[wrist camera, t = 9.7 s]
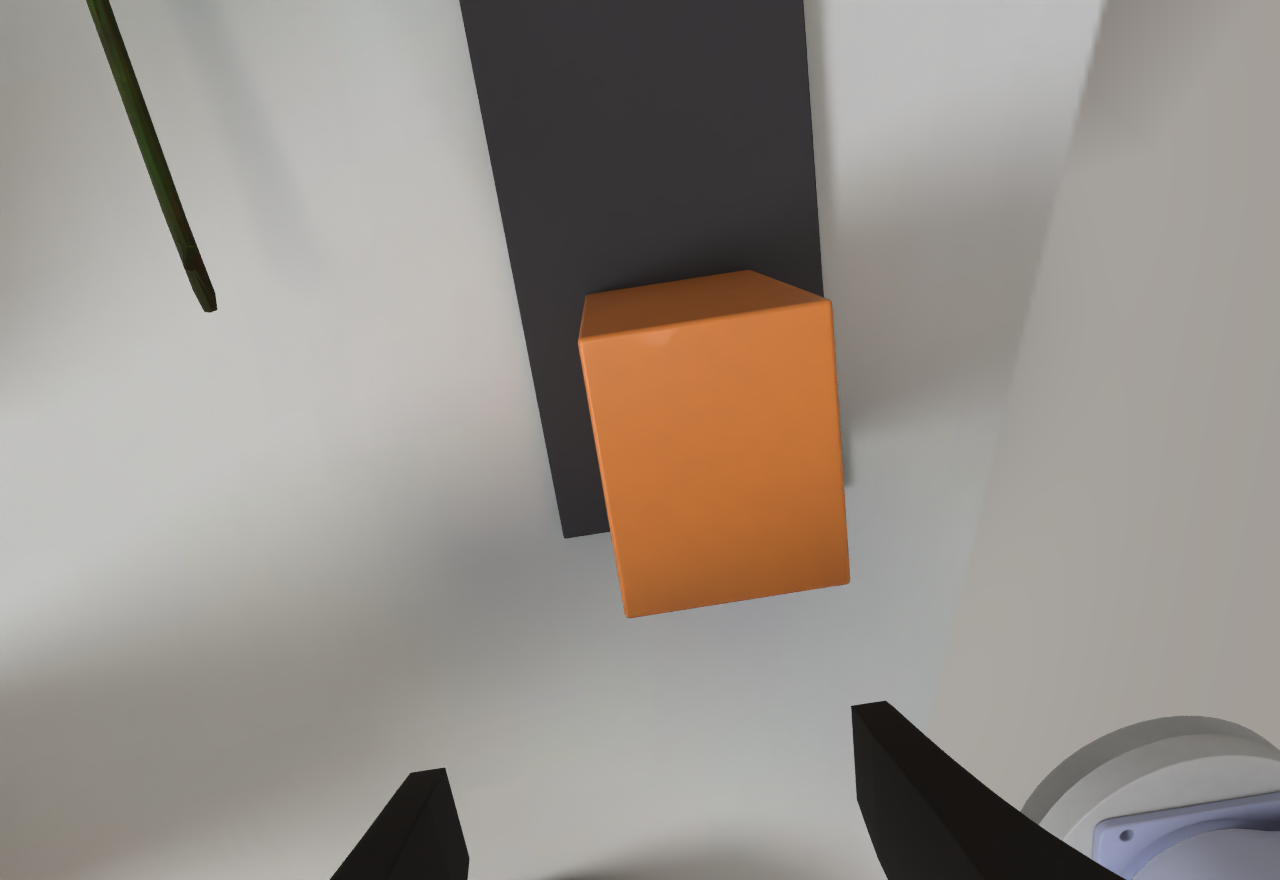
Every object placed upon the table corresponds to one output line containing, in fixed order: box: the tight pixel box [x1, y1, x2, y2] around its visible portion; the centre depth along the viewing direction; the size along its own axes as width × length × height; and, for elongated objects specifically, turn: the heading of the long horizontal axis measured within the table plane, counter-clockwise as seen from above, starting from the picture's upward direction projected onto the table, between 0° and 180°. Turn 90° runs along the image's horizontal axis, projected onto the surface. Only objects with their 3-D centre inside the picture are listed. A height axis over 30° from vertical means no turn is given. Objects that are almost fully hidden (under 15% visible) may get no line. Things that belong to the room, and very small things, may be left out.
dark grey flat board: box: [459, 0, 824, 538], centre depth 17 cm, size 8×26×1 cm, turn 8°
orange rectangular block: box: [578, 270, 850, 618], centre depth 17 cm, size 4×6×7 cm
